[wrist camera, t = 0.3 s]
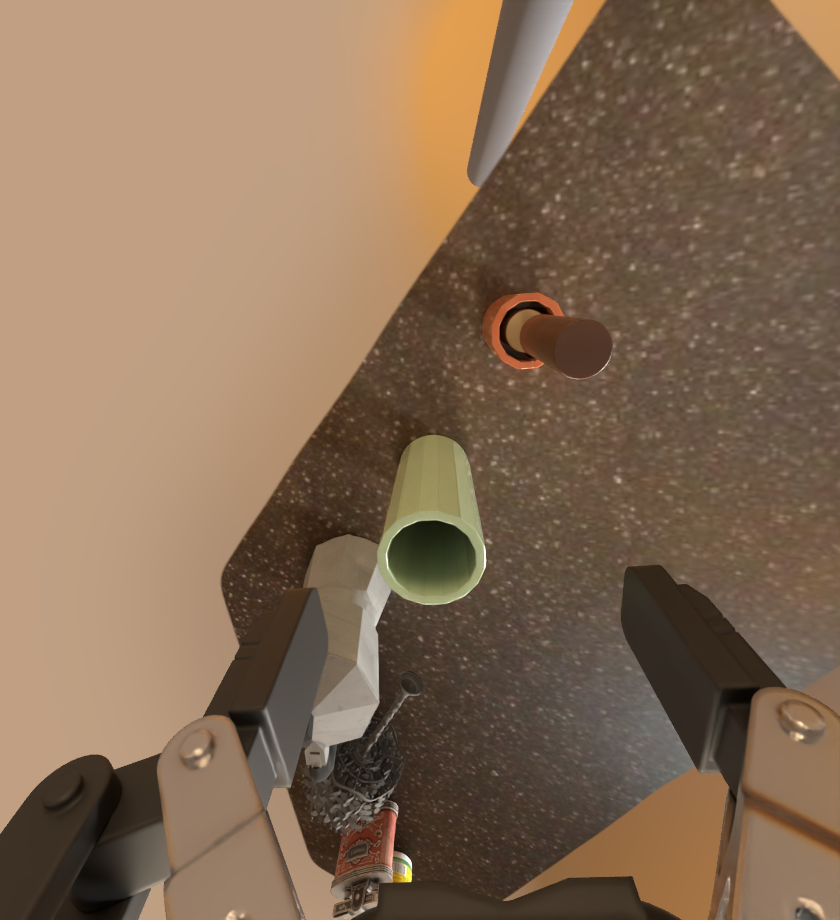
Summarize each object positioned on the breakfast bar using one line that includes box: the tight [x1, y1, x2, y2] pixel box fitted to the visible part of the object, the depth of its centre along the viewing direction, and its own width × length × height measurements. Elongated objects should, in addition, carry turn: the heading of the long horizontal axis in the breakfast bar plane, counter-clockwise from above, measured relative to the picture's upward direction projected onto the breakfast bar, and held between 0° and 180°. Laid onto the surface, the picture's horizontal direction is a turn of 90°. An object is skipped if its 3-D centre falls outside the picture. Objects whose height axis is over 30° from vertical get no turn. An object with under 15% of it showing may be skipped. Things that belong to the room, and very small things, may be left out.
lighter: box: [331, 800, 398, 920], centre depth 52 cm, size 8×3×10 cm, turn 122°
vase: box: [377, 435, 486, 604], centre depth 33 cm, size 6×6×15 cm
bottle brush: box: [499, 308, 613, 379], centre depth 26 cm, size 3×3×18 cm
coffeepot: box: [302, 534, 392, 782], centre depth 36 cm, size 15×9×18 cm, turn 0°
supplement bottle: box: [392, 851, 412, 882], centre depth 55 cm, size 5×5×10 cm
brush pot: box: [482, 292, 564, 369], centre depth 32 cm, size 5×5×7 cm
